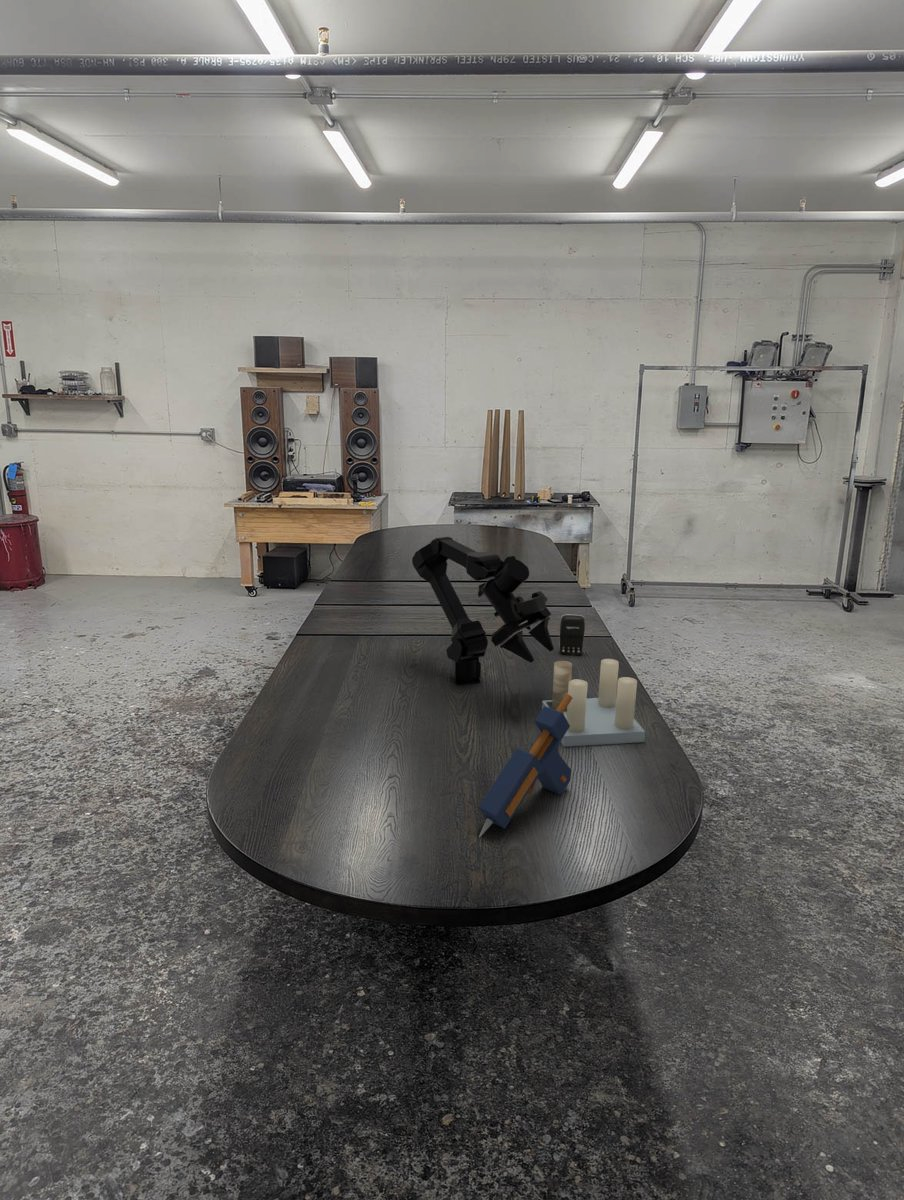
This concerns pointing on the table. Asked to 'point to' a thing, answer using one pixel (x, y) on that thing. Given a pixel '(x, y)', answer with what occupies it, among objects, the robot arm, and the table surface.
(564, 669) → the loose leg
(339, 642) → the table surface
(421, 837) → the table surface
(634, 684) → the stool seat
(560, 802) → the table surface
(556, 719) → the glue gun
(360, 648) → the table surface
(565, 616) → the battery charger
